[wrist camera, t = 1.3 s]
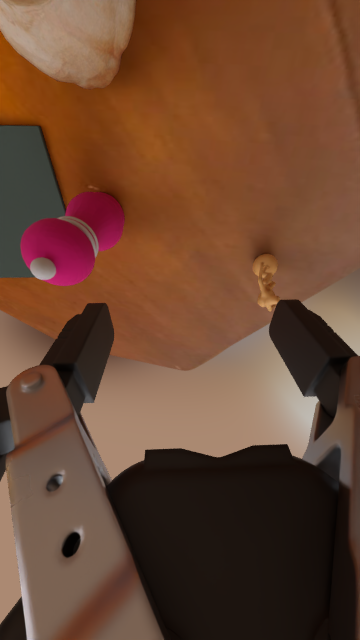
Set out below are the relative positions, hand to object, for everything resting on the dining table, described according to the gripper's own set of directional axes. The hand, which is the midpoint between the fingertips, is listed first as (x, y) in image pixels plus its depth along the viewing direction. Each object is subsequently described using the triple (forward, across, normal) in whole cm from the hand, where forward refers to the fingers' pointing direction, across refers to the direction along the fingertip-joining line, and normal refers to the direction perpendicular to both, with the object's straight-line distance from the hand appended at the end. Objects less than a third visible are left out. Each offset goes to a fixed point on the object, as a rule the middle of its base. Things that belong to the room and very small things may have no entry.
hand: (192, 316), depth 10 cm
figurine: (+28, -14, +9) cm, 32 cm away
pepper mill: (+28, +11, 0) cm, 30 cm away
